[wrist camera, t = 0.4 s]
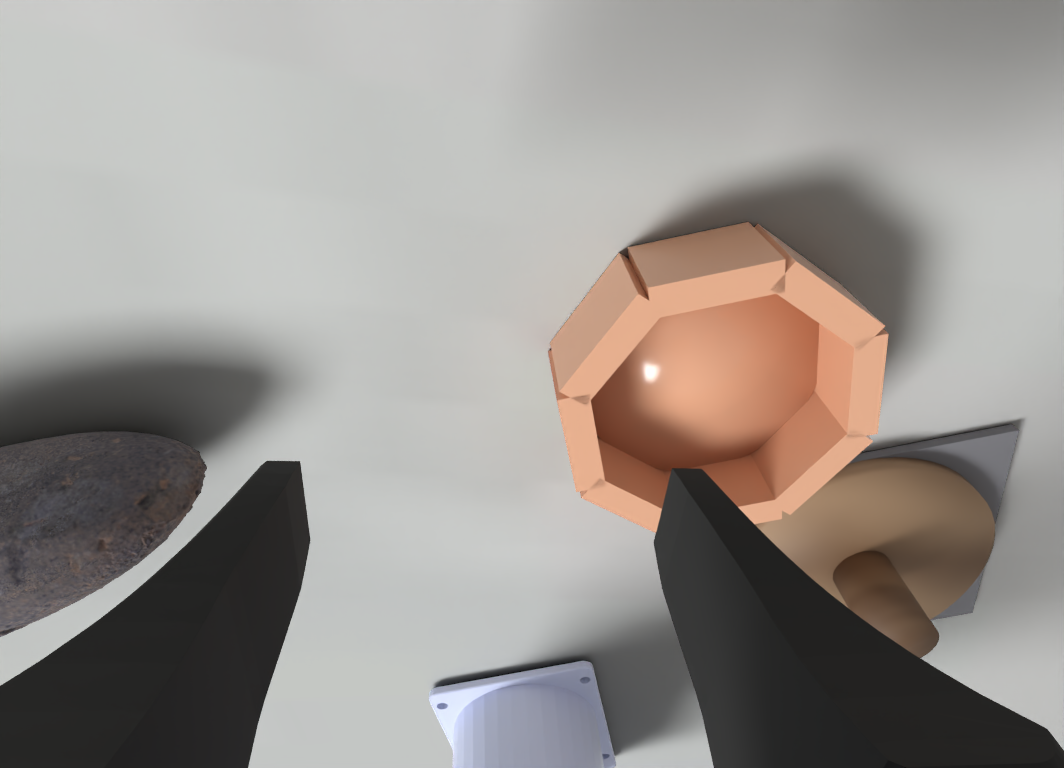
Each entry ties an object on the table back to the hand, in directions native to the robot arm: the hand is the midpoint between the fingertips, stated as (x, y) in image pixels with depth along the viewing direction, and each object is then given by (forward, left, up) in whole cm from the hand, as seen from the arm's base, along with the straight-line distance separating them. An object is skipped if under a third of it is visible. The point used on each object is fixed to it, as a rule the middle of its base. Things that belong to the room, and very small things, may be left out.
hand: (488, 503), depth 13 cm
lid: (-16, -13, -10) cm, 22 cm away
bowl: (-5, -7, -10) cm, 13 cm away
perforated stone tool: (-4, +17, -10) cm, 20 cm away
